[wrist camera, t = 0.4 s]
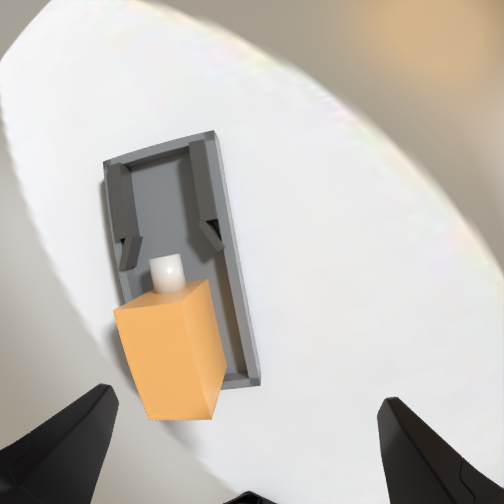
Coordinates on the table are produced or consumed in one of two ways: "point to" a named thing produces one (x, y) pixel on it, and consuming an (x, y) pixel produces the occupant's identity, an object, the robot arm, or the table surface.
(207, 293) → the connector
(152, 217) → the tray
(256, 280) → the table surface
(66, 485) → the robot arm
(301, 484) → the table surface
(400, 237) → the table surface
